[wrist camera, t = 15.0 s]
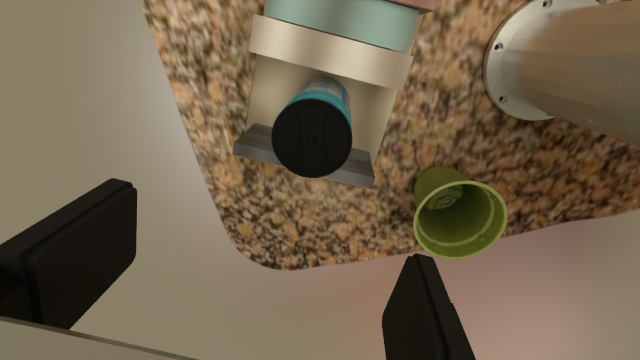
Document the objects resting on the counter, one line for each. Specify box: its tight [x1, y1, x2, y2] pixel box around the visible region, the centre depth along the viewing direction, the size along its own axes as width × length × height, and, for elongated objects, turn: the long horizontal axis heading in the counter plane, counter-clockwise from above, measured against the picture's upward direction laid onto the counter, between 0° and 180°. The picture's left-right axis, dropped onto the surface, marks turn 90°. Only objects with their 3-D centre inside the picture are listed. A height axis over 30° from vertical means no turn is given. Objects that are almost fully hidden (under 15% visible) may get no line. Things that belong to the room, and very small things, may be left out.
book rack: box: [233, 0, 438, 189], centre depth 33 cm, size 16×23×11 cm
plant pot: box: [413, 166, 508, 260], centre depth 38 cm, size 9×9×9 cm
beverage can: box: [271, 77, 352, 178], centre depth 31 cm, size 6×6×15 cm
